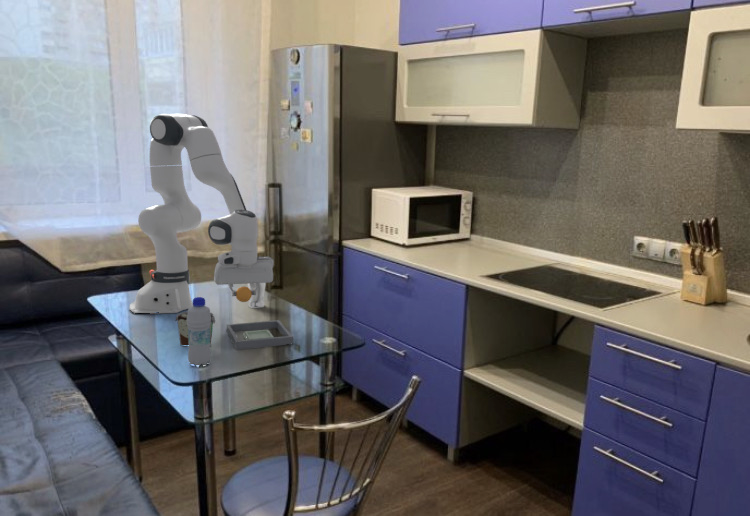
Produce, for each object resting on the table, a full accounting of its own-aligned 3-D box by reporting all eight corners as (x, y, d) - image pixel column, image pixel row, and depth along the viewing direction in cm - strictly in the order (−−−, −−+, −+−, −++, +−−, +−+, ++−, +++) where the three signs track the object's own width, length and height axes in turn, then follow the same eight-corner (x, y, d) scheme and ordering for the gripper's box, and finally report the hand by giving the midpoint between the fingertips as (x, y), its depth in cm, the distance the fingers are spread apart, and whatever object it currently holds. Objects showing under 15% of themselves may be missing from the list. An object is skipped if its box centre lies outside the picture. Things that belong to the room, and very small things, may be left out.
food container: (221, 341, 188) (221, 311, 186) (214, 348, 182) (214, 317, 180) (184, 338, 189) (183, 309, 187) (176, 345, 183) (175, 314, 181)
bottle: (202, 358, 173) (201, 293, 169) (216, 364, 169) (215, 297, 165) (182, 364, 168) (181, 297, 164) (196, 371, 164) (195, 302, 160)
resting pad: (247, 343, 187) (247, 340, 187) (242, 334, 195) (242, 331, 195) (275, 340, 190) (275, 337, 190) (269, 332, 198) (269, 328, 198)
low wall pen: (236, 349, 181) (236, 342, 180) (226, 331, 197) (226, 324, 197) (293, 344, 188) (293, 336, 188) (279, 327, 204) (279, 320, 204)
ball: (237, 304, 204) (237, 289, 202) (234, 300, 209) (234, 285, 207) (253, 303, 206) (253, 288, 205) (249, 299, 211) (250, 284, 210)
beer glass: (261, 309, 224) (261, 271, 221) (244, 307, 225) (244, 269, 222) (268, 304, 230) (268, 267, 227) (251, 303, 232) (251, 266, 229)
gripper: (271, 254, 211) (270, 291, 214) (213, 255, 203) (213, 294, 205) (276, 258, 205) (274, 296, 208) (216, 259, 197) (215, 299, 200)
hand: (243, 295), depth 207 cm, fingers closed on ball, 5 cm apart
